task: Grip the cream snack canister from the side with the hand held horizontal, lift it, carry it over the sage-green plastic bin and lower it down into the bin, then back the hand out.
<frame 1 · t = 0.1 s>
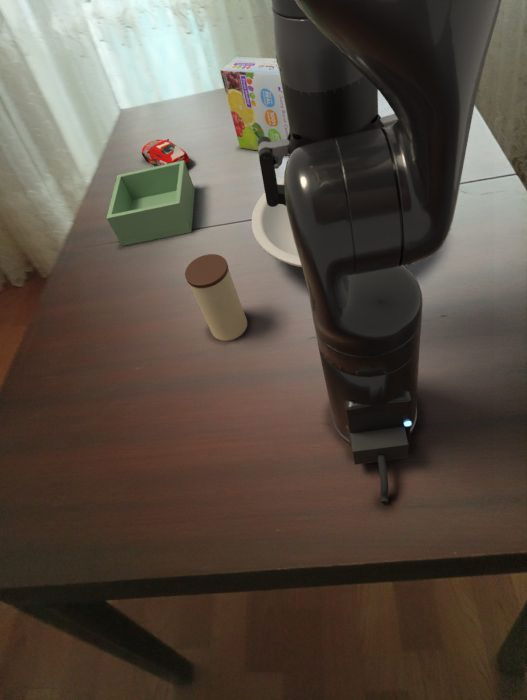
hand: (343, 219, 51), 17 cm above the table, tool pointing down, fingers open, 8 cm apart
soup bowl: (338, 243, 75), on the table
race car: (167, 162, 101), on the table
bin: (159, 216, 89), on the table
snack box: (291, 149, 94), on the table
canister: (229, 326, 69), on the table
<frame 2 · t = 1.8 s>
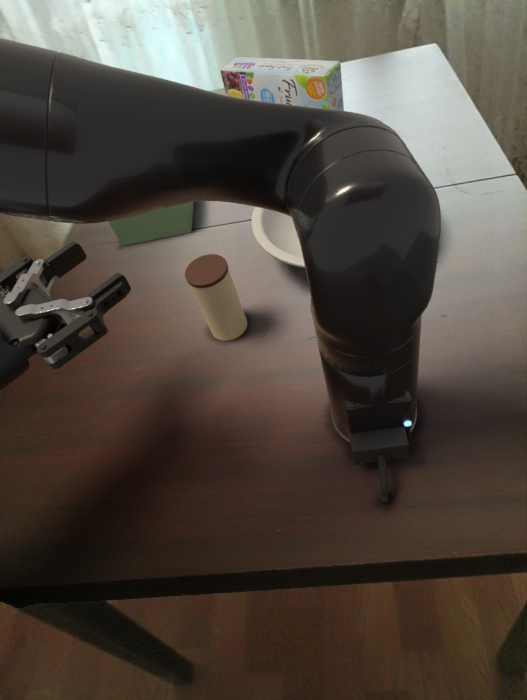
hand: (102, 263, 50), 20 cm above the table, tool horizontal, fingers open, 8 cm apart
nothing on the table moved.
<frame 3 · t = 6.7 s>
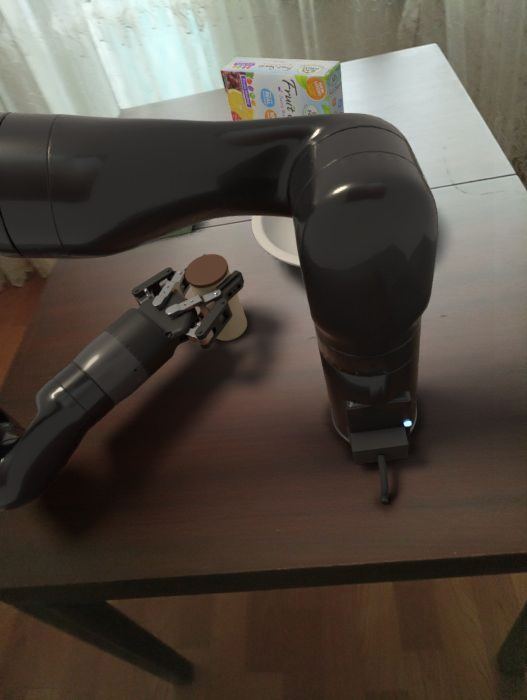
hand: (224, 268, 63), 9 cm above the table, tool horizontal, fingers closed on canister, 5 cm apart
canister: (229, 326, 69), on the table, touching gripper
everything else where it was.
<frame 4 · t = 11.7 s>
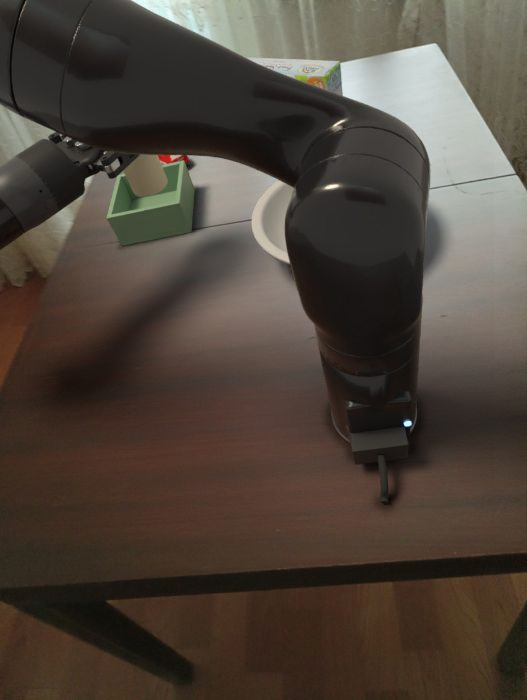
hand: (139, 116, 66), 22 cm above the table, tool horizontal, fingers closed on canister, 5 cm apart
canister: (150, 186, 72), point 13 cm above the table, touching gripper
everything else where it was.
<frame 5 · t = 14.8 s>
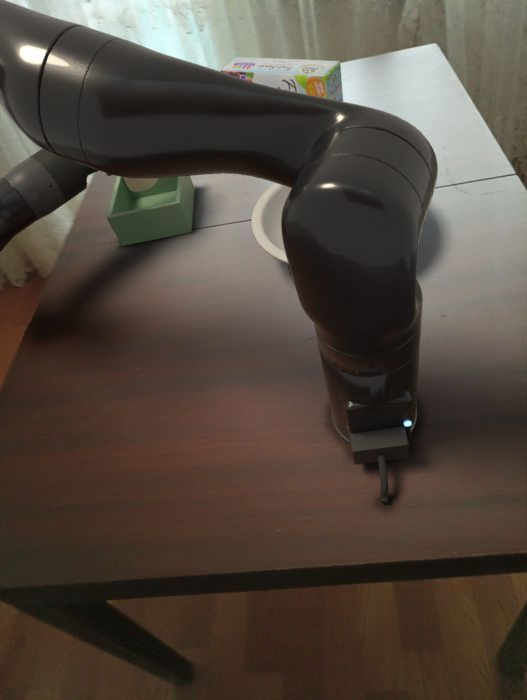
hand: (133, 123, 78), 16 cm above the table, tool horizontal, fingers closed on canister, 5 cm apart
canister: (143, 182, 84), point 7 cm above the table, touching gripper
everything else where it was.
when the fingers open (10 cm above the table, at t = 17.0 s): canister stays where it is, resting on bin.
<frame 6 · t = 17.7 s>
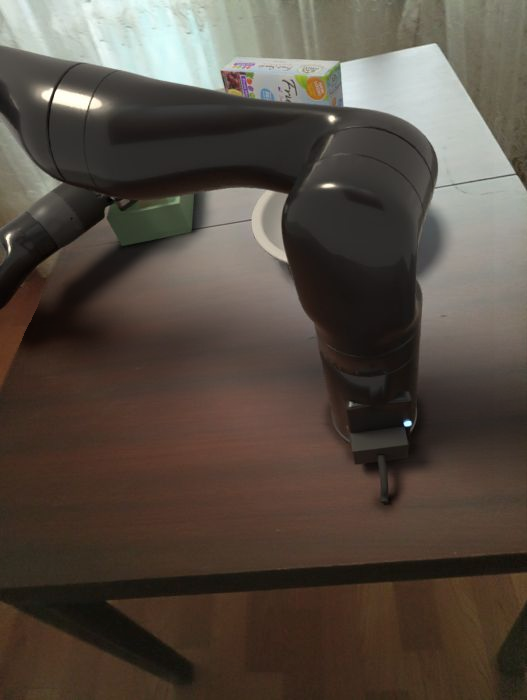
hand: (144, 157, 82), 11 cm above the table, tool horizontal, fingers open, 8 cm apart
canister: (156, 212, 88), point 1 cm above the table, touching bin
everything else where it was.
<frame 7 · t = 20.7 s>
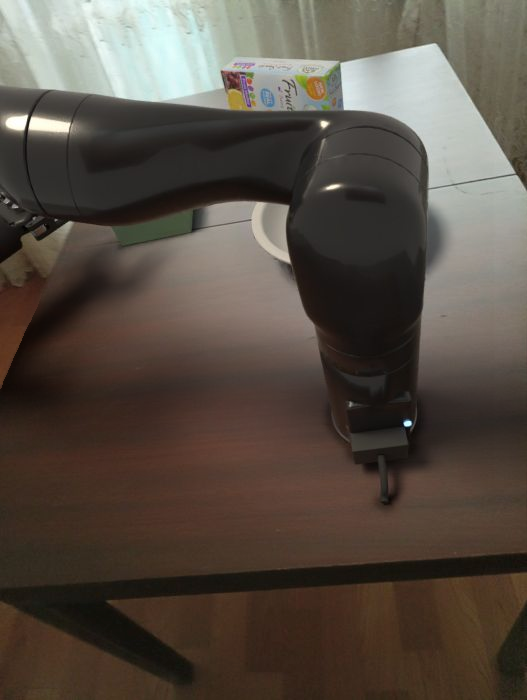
hand: (69, 179, 74), 15 cm above the table, tool horizontal, fingers open, 8 cm apart
nothing on the table moved.
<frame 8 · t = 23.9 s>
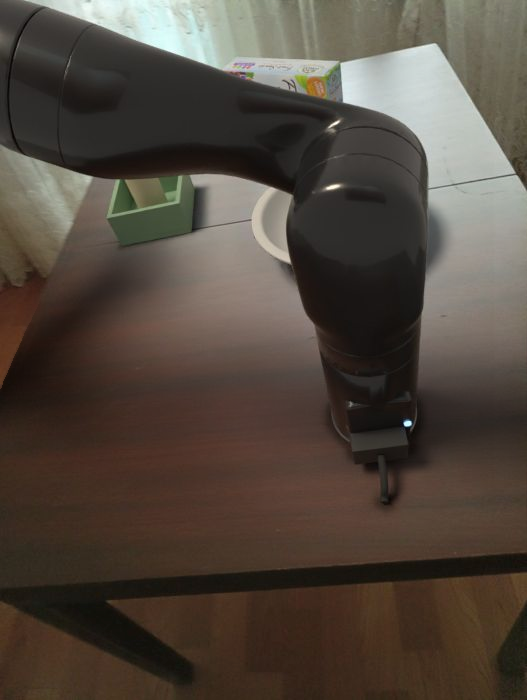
hand: (15, 90, 64), 28 cm above the table, tool horizontal, fingers open, 8 cm apart
nothing on the table moved.
at the end: canister inside the target area in the bin (0.1 cm from its centre), point 1.0 cm above the bin's base; canister tilted 0°; the gripper is holding nothing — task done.
